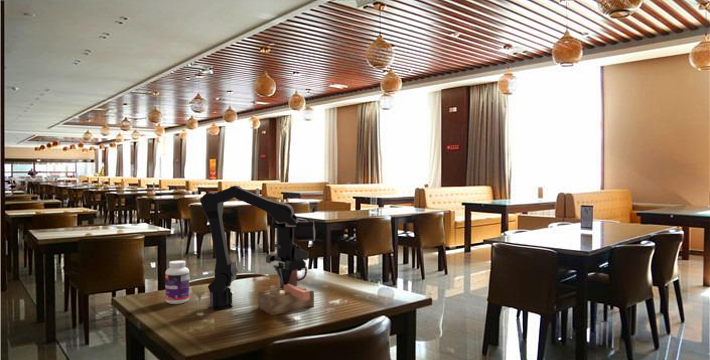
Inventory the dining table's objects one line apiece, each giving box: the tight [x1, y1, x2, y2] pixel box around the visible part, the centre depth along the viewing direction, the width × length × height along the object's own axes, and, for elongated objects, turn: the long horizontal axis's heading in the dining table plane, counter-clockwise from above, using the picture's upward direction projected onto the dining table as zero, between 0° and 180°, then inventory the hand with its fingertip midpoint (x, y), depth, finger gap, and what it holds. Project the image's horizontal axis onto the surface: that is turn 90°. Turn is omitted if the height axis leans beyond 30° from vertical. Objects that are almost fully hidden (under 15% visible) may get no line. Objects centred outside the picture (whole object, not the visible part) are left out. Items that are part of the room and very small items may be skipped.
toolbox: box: [257, 284, 315, 316], centre depth 165 cm, size 16×10×6 cm, turn 125°
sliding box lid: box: [265, 285, 310, 297], centre depth 165 cm, size 14×7×3 cm, turn 125°
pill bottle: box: [164, 260, 190, 305], centre depth 173 cm, size 8×8×14 cm
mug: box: [278, 266, 308, 288], centre depth 191 cm, size 12×9×10 cm
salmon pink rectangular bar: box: [284, 284, 311, 300], centre depth 159 cm, size 2×14×3 cm, turn 35°
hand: (285, 286), depth 165 cm, fingers closed
